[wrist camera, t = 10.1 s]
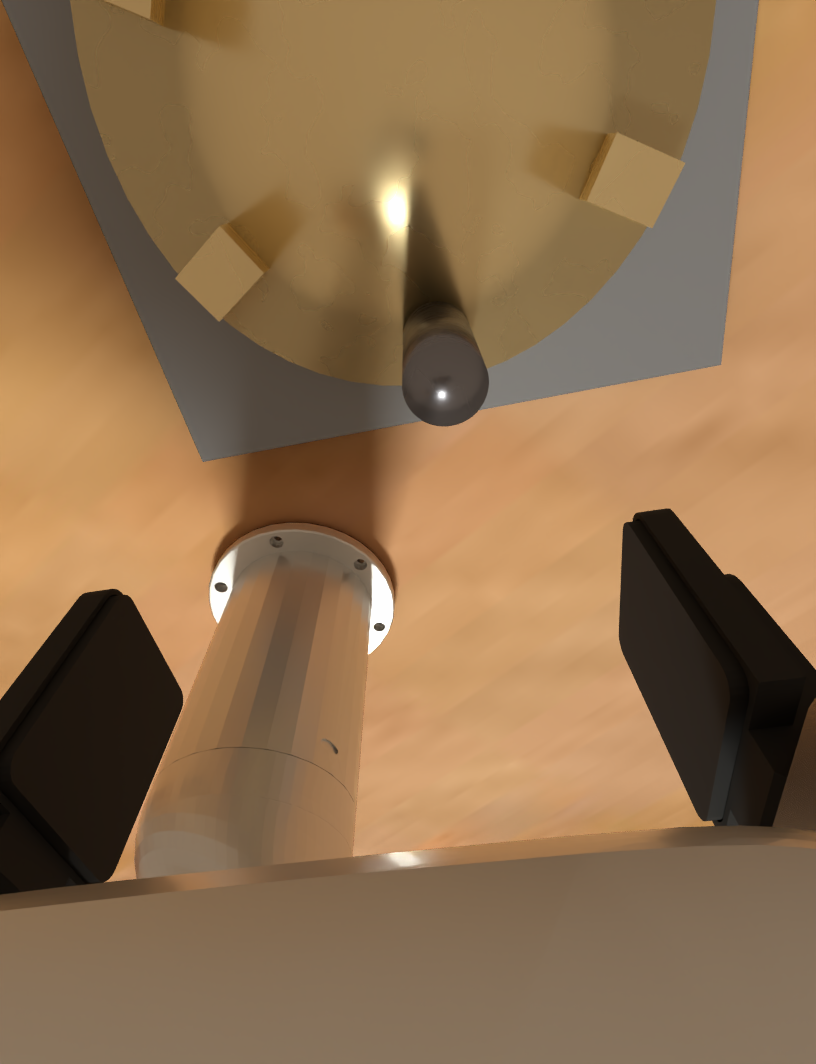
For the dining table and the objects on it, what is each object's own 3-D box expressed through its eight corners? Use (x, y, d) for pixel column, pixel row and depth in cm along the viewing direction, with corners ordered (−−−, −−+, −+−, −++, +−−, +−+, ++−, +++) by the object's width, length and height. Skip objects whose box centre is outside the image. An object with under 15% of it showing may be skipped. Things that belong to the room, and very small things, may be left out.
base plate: (703, 353, 31) (723, 366, 29) (212, 446, 34) (201, 464, 32) (790, -654, 16) (844, -769, 14) (-112, -328, 19) (-172, -385, 17)
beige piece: (-18, -254, 18) (-352, -582, 10) (704, -503, 16) (1008, -1184, 8) (233, 403, 30) (171, 490, 22) (666, 317, 27) (771, 379, 19)
